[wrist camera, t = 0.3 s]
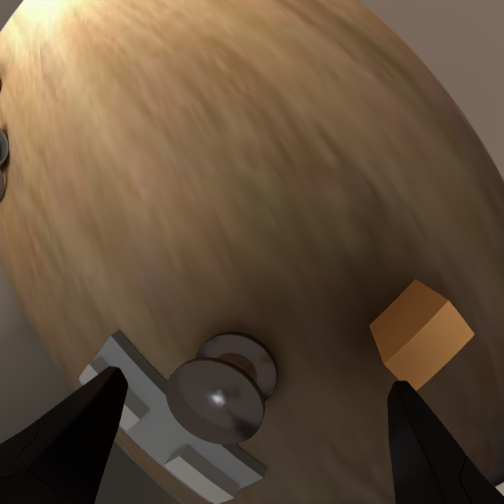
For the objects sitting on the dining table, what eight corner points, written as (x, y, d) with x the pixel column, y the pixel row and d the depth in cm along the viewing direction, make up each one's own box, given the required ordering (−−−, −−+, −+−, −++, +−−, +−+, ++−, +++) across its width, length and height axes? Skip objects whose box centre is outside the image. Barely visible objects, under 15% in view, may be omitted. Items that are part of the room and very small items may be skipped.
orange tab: (437, 305, 20) (474, 334, 14) (392, 349, 22) (412, 393, 15) (415, 278, 21) (448, 300, 14) (368, 325, 22) (383, 364, 15)
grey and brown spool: (295, 374, 23) (284, 414, 18) (239, 416, 25) (217, 457, 19) (233, 314, 24) (205, 341, 18) (183, 364, 26) (149, 395, 20)
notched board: (266, 468, 25) (259, 491, 22) (212, 493, 27) (202, 513, 24) (119, 330, 27) (97, 341, 24) (86, 375, 29) (67, 387, 26)
